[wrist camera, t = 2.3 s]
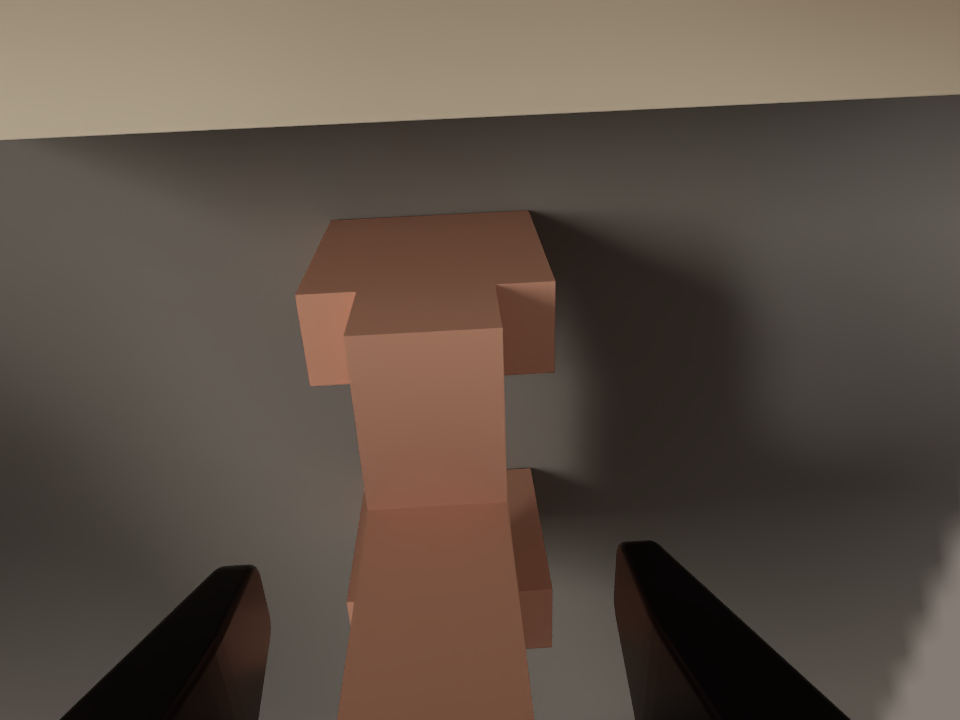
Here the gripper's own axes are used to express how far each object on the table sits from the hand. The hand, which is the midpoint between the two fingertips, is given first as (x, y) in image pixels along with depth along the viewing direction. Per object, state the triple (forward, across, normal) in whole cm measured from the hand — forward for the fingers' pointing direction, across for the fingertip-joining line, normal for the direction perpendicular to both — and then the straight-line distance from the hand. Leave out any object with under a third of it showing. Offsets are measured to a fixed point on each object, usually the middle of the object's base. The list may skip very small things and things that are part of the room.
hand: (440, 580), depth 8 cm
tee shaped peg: (+4, 0, 0) cm, 4 cm away
